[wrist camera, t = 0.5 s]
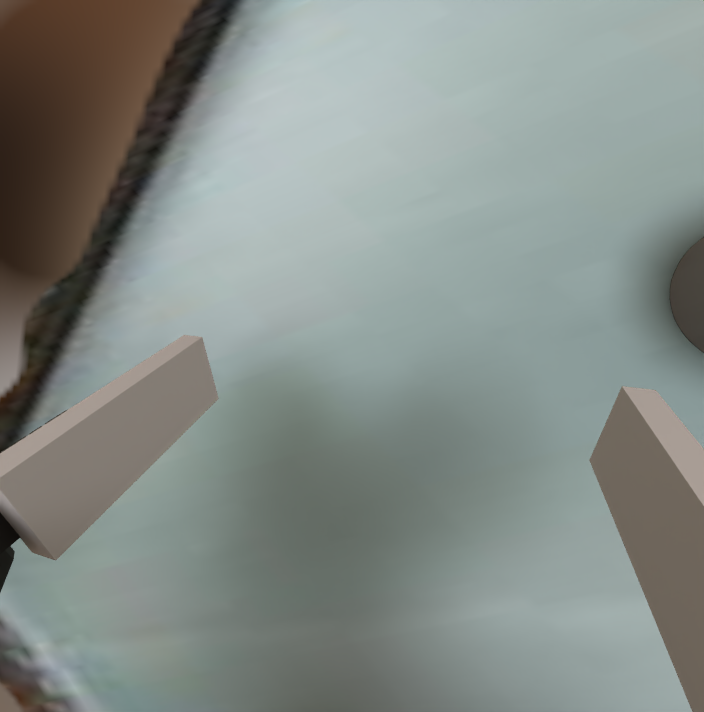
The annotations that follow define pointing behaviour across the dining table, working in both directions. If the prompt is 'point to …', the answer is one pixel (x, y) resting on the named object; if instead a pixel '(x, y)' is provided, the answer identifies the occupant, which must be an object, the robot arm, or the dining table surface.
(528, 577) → the dining table surface
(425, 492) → the dining table surface
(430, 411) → the dining table surface
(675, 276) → the coffee mug
